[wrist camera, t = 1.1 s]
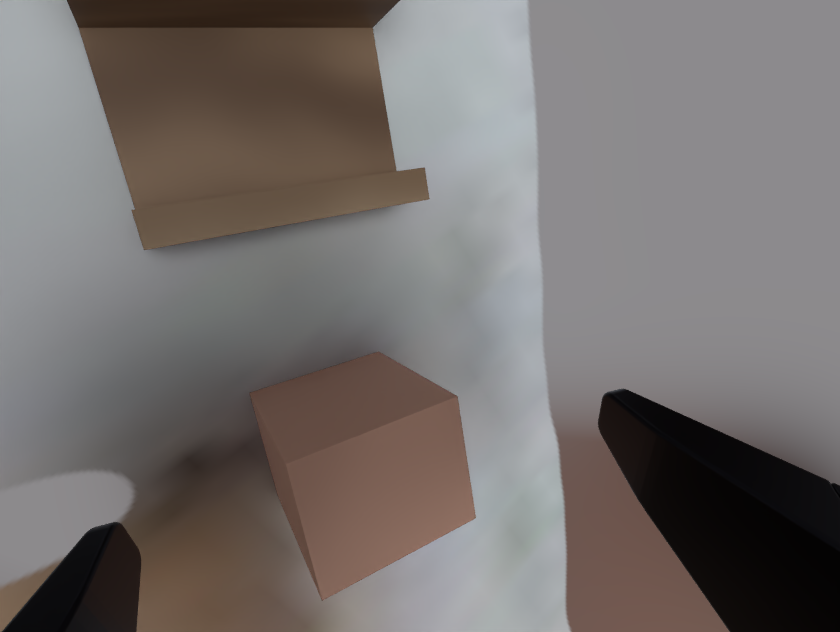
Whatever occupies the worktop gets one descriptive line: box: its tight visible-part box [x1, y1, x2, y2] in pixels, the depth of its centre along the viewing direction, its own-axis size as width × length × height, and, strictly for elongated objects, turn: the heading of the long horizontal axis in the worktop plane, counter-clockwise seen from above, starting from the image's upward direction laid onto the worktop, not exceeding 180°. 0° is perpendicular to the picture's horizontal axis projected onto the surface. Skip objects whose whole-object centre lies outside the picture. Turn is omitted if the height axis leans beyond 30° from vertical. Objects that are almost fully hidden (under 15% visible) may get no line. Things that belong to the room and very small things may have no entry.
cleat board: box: [67, 0, 429, 250], centre depth 15 cm, size 9×10×8 cm
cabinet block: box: [250, 352, 476, 600], centre depth 19 cm, size 6×6×7 cm
